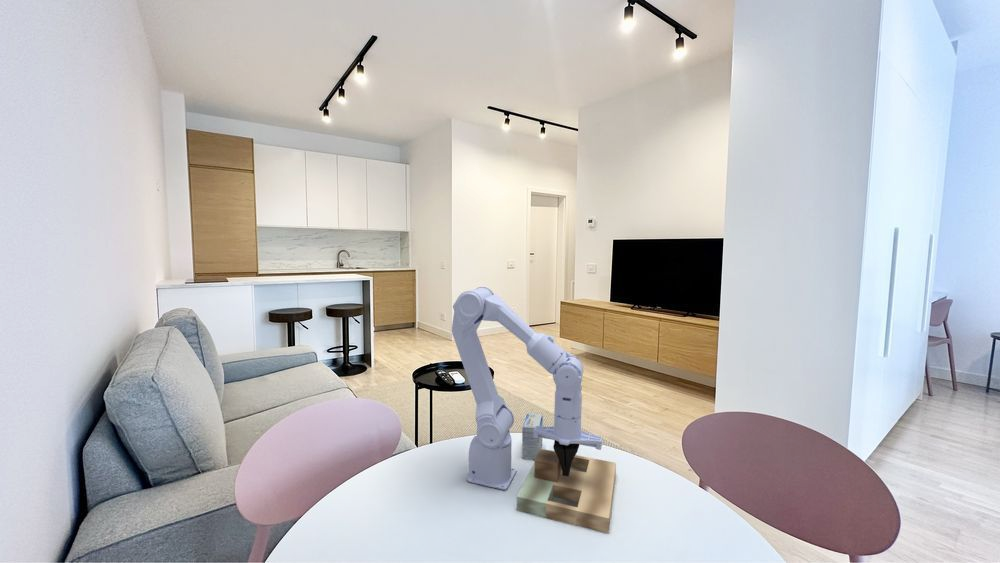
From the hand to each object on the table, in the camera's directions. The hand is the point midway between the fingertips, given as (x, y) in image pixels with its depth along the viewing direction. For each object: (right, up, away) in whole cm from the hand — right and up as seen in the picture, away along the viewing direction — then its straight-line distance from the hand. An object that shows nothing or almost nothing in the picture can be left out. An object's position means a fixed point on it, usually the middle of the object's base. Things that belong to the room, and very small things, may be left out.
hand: (566, 473), depth 85 cm
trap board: (+1, -4, 0) cm, 4 cm away
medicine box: (-6, -3, +16) cm, 18 cm away
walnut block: (-4, -1, +1) cm, 4 cm away
